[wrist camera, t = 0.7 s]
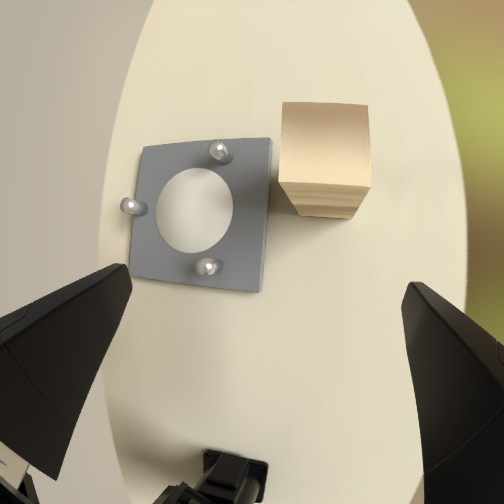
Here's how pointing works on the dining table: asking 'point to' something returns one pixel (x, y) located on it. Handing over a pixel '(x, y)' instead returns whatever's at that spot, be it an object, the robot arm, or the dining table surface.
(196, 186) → the plate
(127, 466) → the dining table surface
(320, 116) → the maple block
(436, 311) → the robot arm
